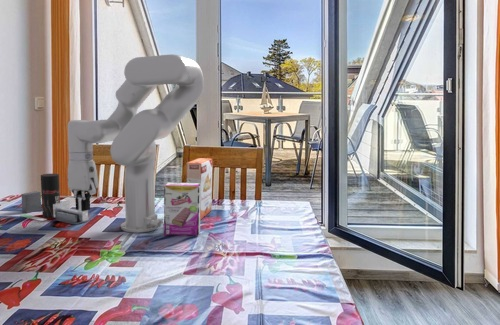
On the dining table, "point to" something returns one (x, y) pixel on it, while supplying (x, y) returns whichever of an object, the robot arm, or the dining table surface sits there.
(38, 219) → the strips
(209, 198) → the cracker box
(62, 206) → the grey angular piece
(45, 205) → the deodorant
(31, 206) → the grey flat block
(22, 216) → the green band
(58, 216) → the grey metal bracket
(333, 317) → the dining table surface
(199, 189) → the candy bar box
